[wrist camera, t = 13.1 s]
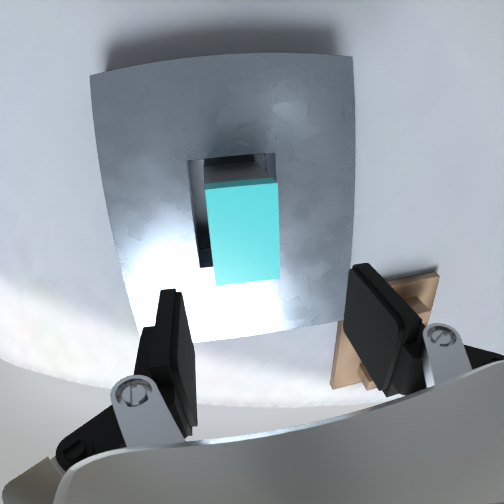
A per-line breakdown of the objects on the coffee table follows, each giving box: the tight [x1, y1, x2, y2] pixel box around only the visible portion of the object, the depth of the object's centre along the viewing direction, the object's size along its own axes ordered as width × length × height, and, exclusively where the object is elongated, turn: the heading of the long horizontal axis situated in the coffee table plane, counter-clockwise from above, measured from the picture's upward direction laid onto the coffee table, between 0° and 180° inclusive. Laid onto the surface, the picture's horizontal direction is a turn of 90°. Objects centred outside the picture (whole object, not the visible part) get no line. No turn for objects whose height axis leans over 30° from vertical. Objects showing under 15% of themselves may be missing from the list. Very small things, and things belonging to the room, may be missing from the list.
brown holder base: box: [330, 272, 440, 390], centre depth 33 cm, size 12×14×4 cm
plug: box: [204, 161, 280, 286], centre depth 22 cm, size 4×6×8 cm, turn 3°
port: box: [90, 53, 355, 343], centre depth 24 cm, size 18×22×4 cm
